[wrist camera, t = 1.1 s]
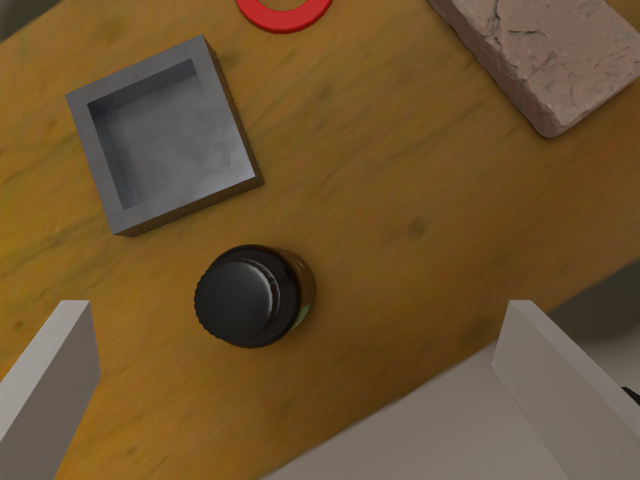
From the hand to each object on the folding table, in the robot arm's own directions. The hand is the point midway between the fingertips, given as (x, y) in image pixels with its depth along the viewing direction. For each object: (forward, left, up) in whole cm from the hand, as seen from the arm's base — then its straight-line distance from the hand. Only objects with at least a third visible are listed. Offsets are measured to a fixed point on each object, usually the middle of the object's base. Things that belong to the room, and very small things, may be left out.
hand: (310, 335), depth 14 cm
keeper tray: (+9, -17, -23) cm, 30 cm away
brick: (-21, -14, -23) cm, 34 cm away
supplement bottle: (+5, -2, -23) cm, 24 cm away
